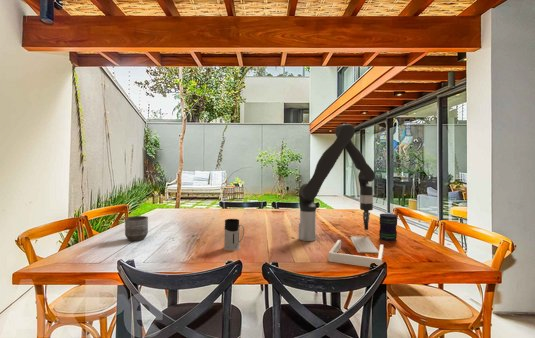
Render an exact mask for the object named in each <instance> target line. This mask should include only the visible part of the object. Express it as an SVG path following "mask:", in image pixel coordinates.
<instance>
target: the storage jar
mask: <svg viewBox="0 0 535 338" xmlns="http://www.w3.org/2000/svg"><path fill="white" fill-rule="evenodd" d="M397 225H398V215H397V214H393V213H379V230H378V235H379V238H378V239H379V240H380V241H383V242H388V243H391V242H392V243H394V242H397V237H398V231H397Z"/></svg>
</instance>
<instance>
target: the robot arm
mask: <svg viewBox="0 0 535 338" xmlns="http://www.w3.org/2000/svg"><path fill="white" fill-rule="evenodd" d="M334 134H335V136H336V139H335V140H334V142H333V143H332V144H331V145H330V146H329V147H327V149H326V150H325V151H324V152H323V153H322V154H321V156H320V157H319V159H318V161H317V163H316V166H315V168H314V172H313V175H312V177H311V178H310V180H309V181H308V182H307V183H303V184H302V185H301V186H300V187H299V193H298V195H299V197H298V198H299V199H298V203H299V223H298V240H300V241H304V242H314V241H316V223H317V222H316V217H317V215H316V214H317V213H316V211H317V207H316V204H315V198H316V197H317V196H318V193H319V192H320V189H321V187H322V185H323V183H324V181H326V179H327V177H328V176H329V175H330V172H331V171H332V170H333V168H334V166H335V165H336V163H337V161H338V160H339V157H340V156H341V154H342V153H343V151H344V149H345V150H346V152H347V154H348V155H349V157H350V159H351V161H352V162H353V165H354V167H355V169H356V170H357V171H359V173H358V176H357V177H358V178H357V179H358V183H359V188H360V198H359V208H360V210H361V211H363V212H362V219H363V225H364V226H363V227H364V228H363V229H364V231H368V230H369V223H370V215H371V213H370V211H373V210H374V202H373V201H374V197H373V187H372V185H370V183H371V182H374V180H375V178H376V174H375V171H374V170H373V168H372V167H371V165H369V164H368V163H367V161H366V158H365V157H364V155H363V154H362V153H363V152H361V151H360V149H359V148H358V147H357V146H356V145H355V144H354V142H353V141H352V139H353V137H354V136H355V127H354V126H353V124H351V123H344V124H338V125H337V126H336V127H335V129H334Z"/></svg>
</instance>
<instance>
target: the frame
mask: <svg viewBox="0 0 535 338" xmlns="http://www.w3.org/2000/svg"><path fill="white" fill-rule="evenodd" d="M341 247H342V239H337V241H336V242H335V243H334V244H333V246H332V247H331V249H330V250H329V251H328V260H327V261H328V262H332V263H337V264H346V265H353V266H359V267H367V268H371V267H370V264H371V263H375V264H376V265H379V264H381V263H382V264H383V259H382V258H383V257H384V244H380V245H379V250H378V251H379V254H377V255H378V256H377V257H371V256H364V255H356V254H355V255H354V254H348V253H341V252H339V251H340V250H341ZM339 249H340V250H339ZM337 252H338V253H337Z"/></svg>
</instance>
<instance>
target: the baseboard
mask: <svg viewBox="0 0 535 338" xmlns="http://www.w3.org/2000/svg"><path fill="white" fill-rule="evenodd" d="M350 236H351V237H350ZM368 236H369V235H366V236H363V235H361V234H356V235H348V237H349V238H350V241H351V242H352V244H353V246H354V249H355V250H356V252H357V253H358V254H368V253H375V254H374V255H379V250H378V248H377V247H376V246H375V245H374V243H373V242H372V241H371V239H370V238H369V237H368Z"/></svg>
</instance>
